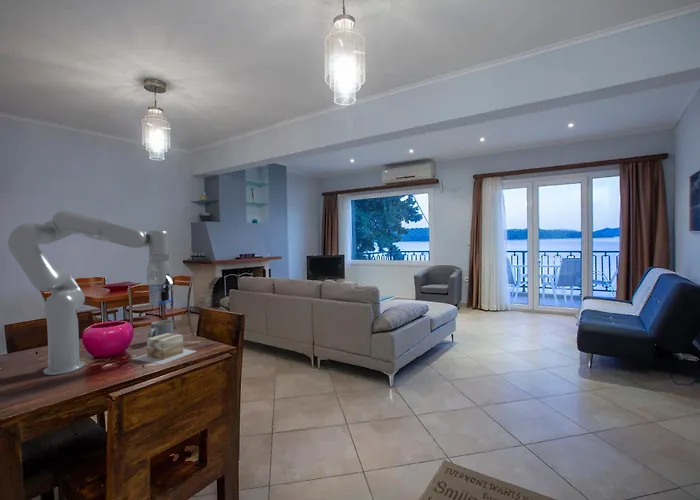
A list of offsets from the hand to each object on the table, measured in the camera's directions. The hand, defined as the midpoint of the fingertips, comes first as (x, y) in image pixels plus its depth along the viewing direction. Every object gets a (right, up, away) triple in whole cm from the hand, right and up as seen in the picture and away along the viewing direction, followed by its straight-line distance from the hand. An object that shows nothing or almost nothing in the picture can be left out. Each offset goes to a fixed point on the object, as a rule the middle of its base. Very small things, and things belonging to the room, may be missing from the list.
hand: (160, 299), depth 151 cm
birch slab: (+1, -21, +2) cm, 21 cm away
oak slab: (+1, -25, +2) cm, 25 cm away
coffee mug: (-14, -26, +25) cm, 38 cm away
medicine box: (0, -2, 0) cm, 2 cm away
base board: (+1, -26, +2) cm, 26 cm away
